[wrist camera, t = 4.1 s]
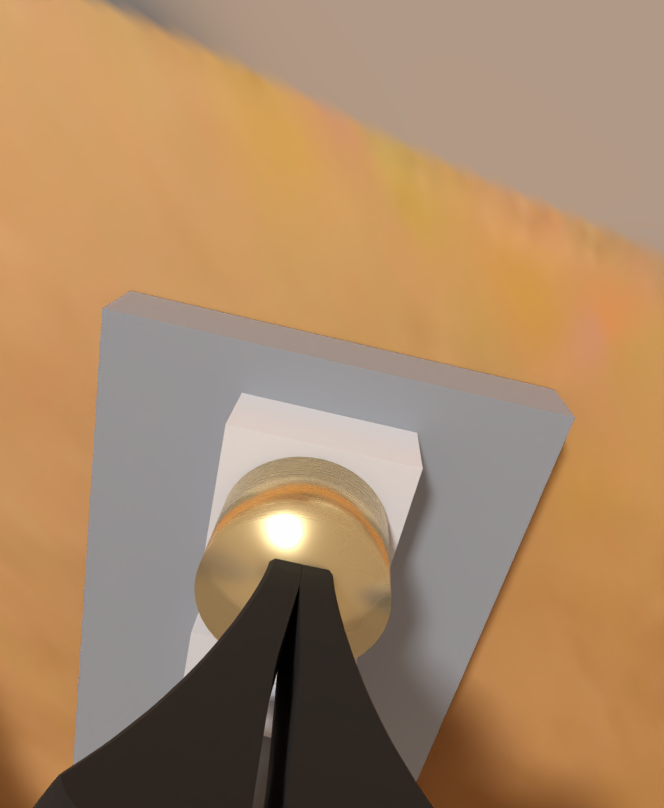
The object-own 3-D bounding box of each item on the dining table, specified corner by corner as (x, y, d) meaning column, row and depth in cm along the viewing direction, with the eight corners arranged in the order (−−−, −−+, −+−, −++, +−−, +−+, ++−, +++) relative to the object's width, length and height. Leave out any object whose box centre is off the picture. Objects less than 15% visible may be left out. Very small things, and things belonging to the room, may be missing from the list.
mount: (90, 768, 26) (45, 868, 23) (130, 290, 18) (66, 329, 14) (374, 826, 27) (375, 934, 23) (554, 389, 18) (601, 452, 14)
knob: (226, 533, 18) (183, 650, 14) (250, 406, 16) (208, 497, 12) (366, 564, 18) (364, 689, 14) (403, 441, 17) (415, 542, 12)
